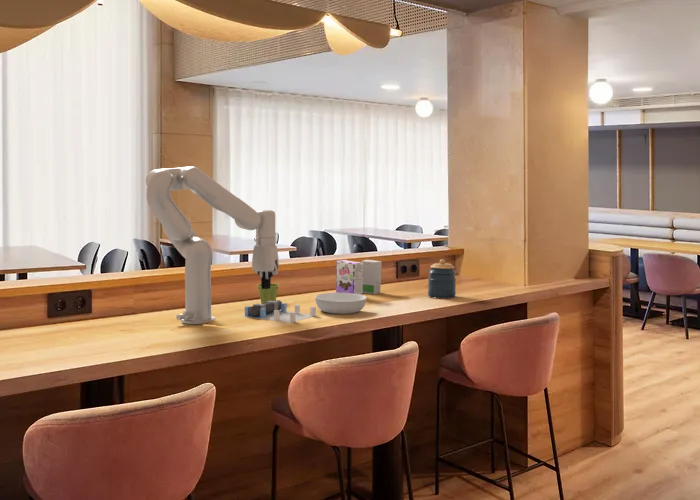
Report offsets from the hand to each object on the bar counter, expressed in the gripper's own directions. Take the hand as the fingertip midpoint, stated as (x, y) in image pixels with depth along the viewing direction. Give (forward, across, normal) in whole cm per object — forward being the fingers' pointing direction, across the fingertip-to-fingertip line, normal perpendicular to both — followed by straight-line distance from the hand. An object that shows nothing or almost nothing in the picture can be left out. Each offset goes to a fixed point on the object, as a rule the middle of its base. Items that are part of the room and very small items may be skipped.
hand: (265, 288), depth 272 cm
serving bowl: (+11, +21, +22) cm, 32 cm away
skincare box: (+11, +6, +74) cm, 75 cm away
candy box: (+11, +3, +59) cm, 60 cm away
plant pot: (+11, -15, +21) cm, 28 cm away
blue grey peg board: (+11, +7, 0) cm, 13 cm away
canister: (+11, +39, +83) cm, 92 cm away
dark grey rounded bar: (+10, 0, 0) cm, 10 cm away
